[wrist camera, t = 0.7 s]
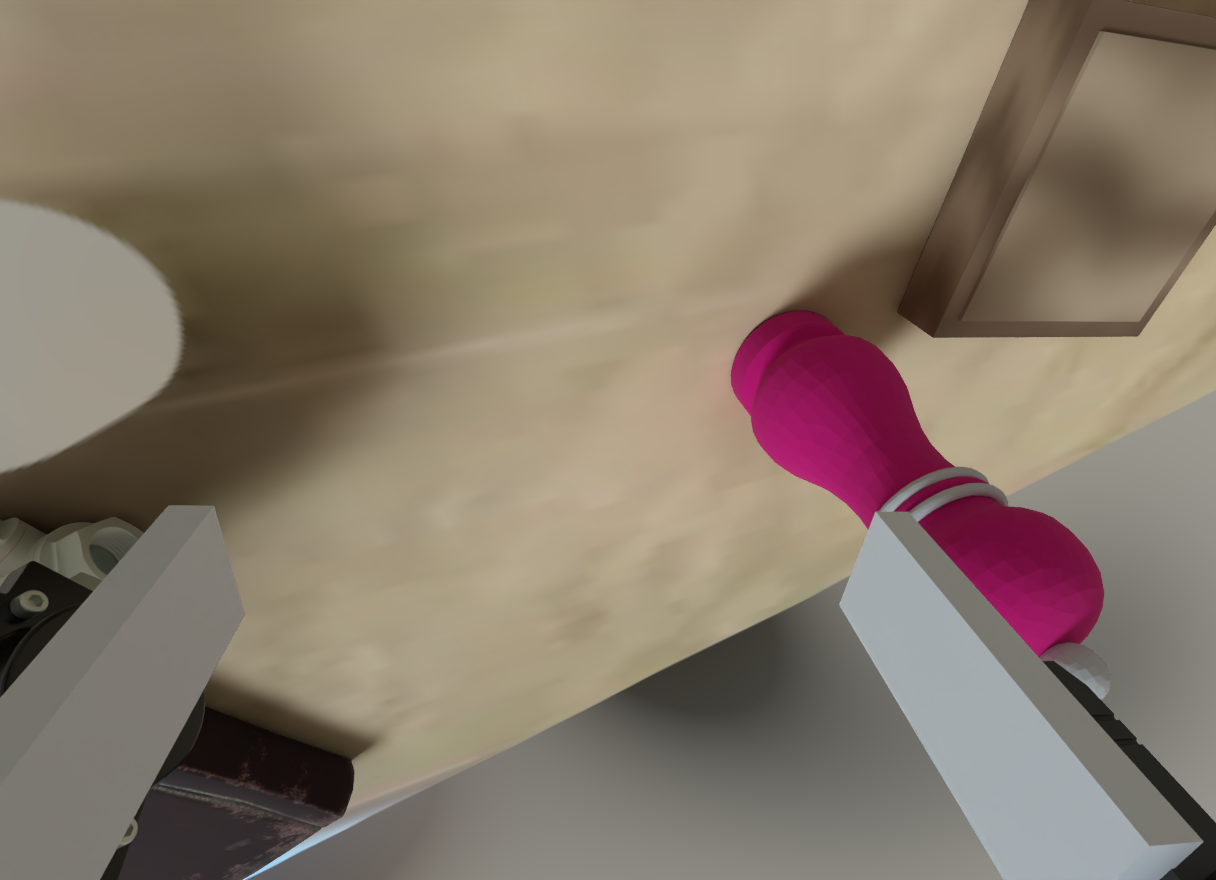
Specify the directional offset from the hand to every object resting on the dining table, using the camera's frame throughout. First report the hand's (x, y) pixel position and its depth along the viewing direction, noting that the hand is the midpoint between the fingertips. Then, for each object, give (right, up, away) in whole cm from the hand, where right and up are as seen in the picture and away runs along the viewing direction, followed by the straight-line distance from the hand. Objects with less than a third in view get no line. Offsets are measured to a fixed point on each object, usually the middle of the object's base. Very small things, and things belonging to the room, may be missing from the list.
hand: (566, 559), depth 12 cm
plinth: (+24, +15, +18) cm, 34 cm away
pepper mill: (+10, +7, +21) cm, 24 cm away
